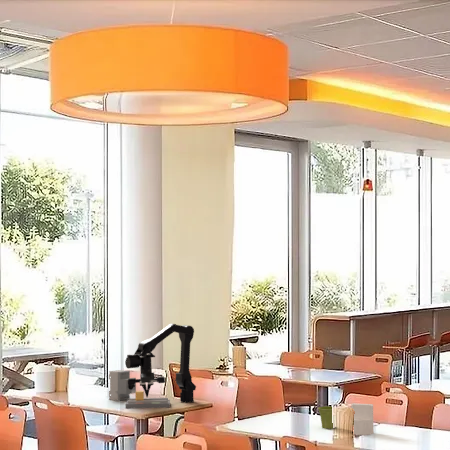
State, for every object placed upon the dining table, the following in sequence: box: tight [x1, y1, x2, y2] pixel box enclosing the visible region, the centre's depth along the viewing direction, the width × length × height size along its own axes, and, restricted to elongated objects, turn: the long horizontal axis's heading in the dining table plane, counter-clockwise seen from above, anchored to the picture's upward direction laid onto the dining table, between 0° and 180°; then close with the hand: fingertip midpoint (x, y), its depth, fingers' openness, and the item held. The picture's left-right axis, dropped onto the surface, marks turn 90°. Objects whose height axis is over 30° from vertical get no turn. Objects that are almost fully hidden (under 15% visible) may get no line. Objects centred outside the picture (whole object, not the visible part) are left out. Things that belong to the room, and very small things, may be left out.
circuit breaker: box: [108, 369, 137, 401], centre depth 505 cm, size 8×14×15 cm, turn 53°
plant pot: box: [317, 405, 333, 430], centre depth 410 cm, size 9×9×9 cm
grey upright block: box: [351, 403, 375, 436], centre depth 397 cm, size 9×9×12 cm
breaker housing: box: [125, 397, 171, 409], centre depth 482 cm, size 22×14×3 cm, turn 92°
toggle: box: [134, 390, 145, 400], centre depth 482 cm, size 4×5×5 cm
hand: (147, 397), depth 482 cm, fingers closed
